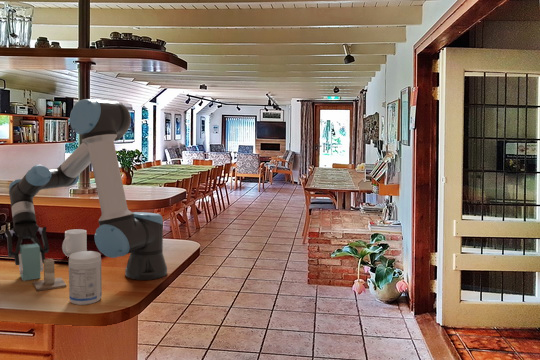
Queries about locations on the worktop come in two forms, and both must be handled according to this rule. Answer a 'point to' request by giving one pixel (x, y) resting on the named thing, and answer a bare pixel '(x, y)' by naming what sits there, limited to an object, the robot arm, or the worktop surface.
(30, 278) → the tall teal pillar
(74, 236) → the mug
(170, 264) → the worktop surface
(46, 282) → the grey pedestal stand
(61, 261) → the worktop surface
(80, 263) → the supplement tub
